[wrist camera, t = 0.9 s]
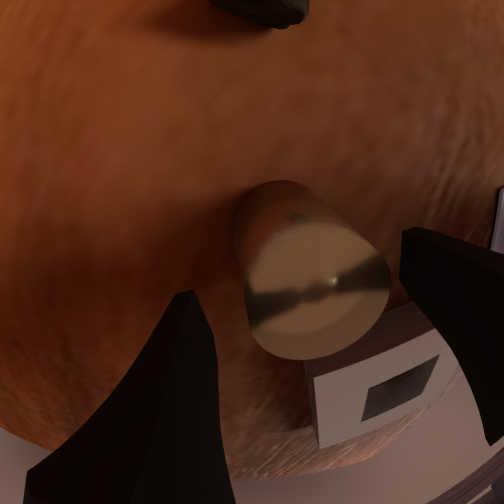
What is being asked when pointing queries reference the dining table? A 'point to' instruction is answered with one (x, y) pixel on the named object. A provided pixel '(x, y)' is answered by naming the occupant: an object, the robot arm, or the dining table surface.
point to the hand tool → (267, 11)
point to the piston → (305, 273)
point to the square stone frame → (378, 376)
